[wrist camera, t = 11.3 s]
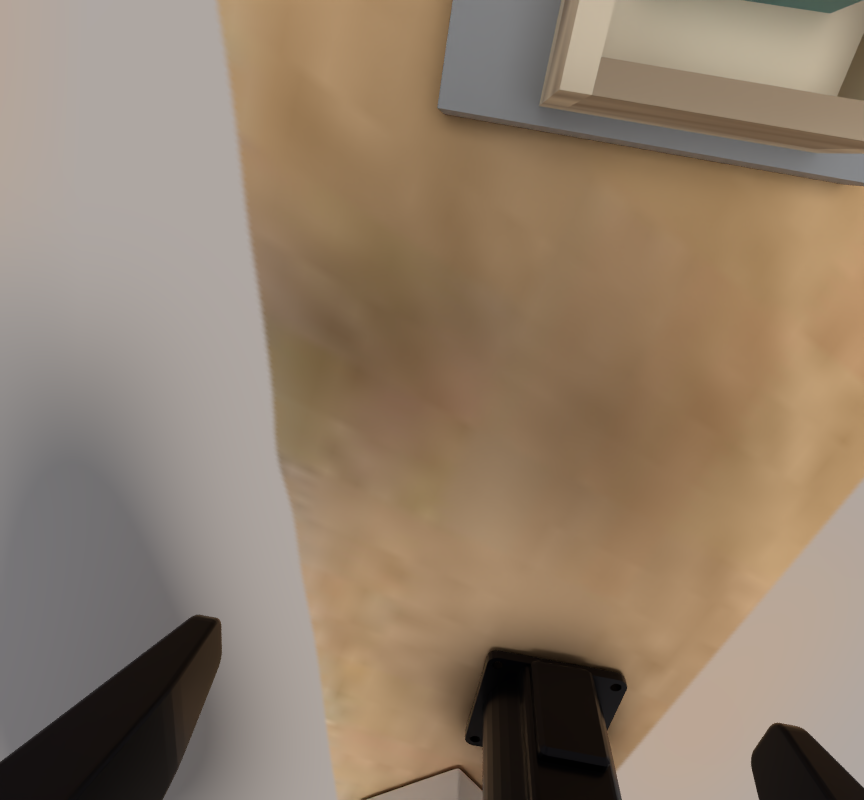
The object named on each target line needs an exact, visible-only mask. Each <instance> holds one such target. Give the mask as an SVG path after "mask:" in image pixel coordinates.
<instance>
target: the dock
mask: <svg viewBox="0 0 864 800" xmlns="http://www.w3.org/2000/svg"><path fill="white" fill-rule="evenodd" d="M560 4H561V0H453V3H452V10H451V17H450V24H449V30H448V37H447V44H446V51H445V58H444V65H443V72H442V79H441V86H440V93H439V100H438V107H437V108H438V109H439V110H440V111H441V112H442V113H443V114H447V115H453V116H459V117H464V118H470V119H476V120H481V121H487V122H493V123H498V124H504V125H510V126H515V127H521V128H527V129H532V130H538V131H544V132H549V133H555V134H561V135H566V136H572V137H578V138H584V139H589V140H595V141H601V142H606V143H612V144H618V145H623V146H629V147H635V148H640V149H646V150H652V151H657V152H663V153H669V154H674V155H680V156H686V157H691V158H697V159H703V160H709V161H714V162H720V163H726V164H731V165H737V166H743V167H748V168H754V169H760V170H765V171H771V172H777V173H782V174H788V175H794V176H799V177H805V178H811V179H816V180H822V181H828V182H834V183H839V184H845V185H856V186H864V154H844V153H811V152H805V151H800V150H794V149H788V148H782V147H776V146H770V145H764V144H758V143H753V142H747V141H741V140H735V139H729V138H723V137H717V136H711V135H705V134H700V133H694V132H688V131H682V130H676V129H670V128H664V127H658V126H653V125H647V124H641V123H635V122H629V121H623V120H617V119H611V118H606V117H600V116H594V115H588V114H582V113H576V112H570V111H564V110H558V109H553V108H547V107H541V106H539V103H540V99H541V94H542V89H543V84H544V80H545V75H546V70H547V66H548V61H549V56H550V51H551V47H552V42H553V37H554V32H555V28H556V23H557V18H558V14H559V9H560Z"/></svg>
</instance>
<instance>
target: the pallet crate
mask: <svg viewBox="0 0 864 800" xmlns="http://www.w3.org/2000/svg"><path fill="white" fill-rule="evenodd" d="M539 106H541V107H547V108H553V109H558V110H564V111H570V112H576V113H582V114H588V115H594V116H600V117H606V118H611V119H617V120H623V121H629V122H635V123H641V124H647V125H653V126H658V127H664V128H670V129H676V130H682V131H688V132H694V133H700V134H705V135H711V136H717V137H723V138H729V139H735V140H741V141H747V142H753V143H758V144H764V145H770V146H776V147H782V148H788V149H794V150H800V151H805V152H811V153H844V154H864V0H863V1H860V2H858V3H855V4H853V5H850V6H848V7H845V8H843V9H840V10H838V11H835V12H833V13H823V12H817V11H810V10H803V9H797V8H790V7H784V6H777V5H771V4H764V3H757V2H751V1H744V0H561V4H560V9H559V14H558V18H557V23H556V28H555V32H554V37H553V42H552V47H551V51H550V56H549V61H548V66H547V70H546V75H545V80H544V84H543V89H542V94H541V99H540V103H539Z"/></svg>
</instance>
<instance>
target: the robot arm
mask: <svg viewBox="0 0 864 800" xmlns="http://www.w3.org/2000/svg"><path fill="white" fill-rule="evenodd" d="M221 638H222V637H221V622H220V620H219V619H218V618H214V617H209V616H203V615H195V616H192V617H191V618H189V619H188V620H186V621H185V622H184V623H182V624H181V625H180V626H179V627H177V628H176V629H175V630H173V631H172V632H171V633H169V634H168V635H167V636H165V637H164V638H163V639H161V640H160V641H159V642H157V643H156V644H155V645H153V646H152V647H151V648H150V649H148V650H147V651H146V652H144V653H143V654H142V655H140V656H139V657H138V658H136V659H135V660H134V661H133V662H131V663H130V664H129V665H127V666H126V667H125V668H123V669H122V670H121V671H119V672H118V673H117V674H115V675H114V676H113V677H111V678H110V679H109V680H108V681H106V682H105V683H104V684H102V685H101V686H100V687H98V688H97V689H96V690H94V691H93V692H92V693H90V694H89V695H88V696H86V697H85V698H84V699H83V700H81V701H80V702H79V703H77V704H76V705H75V706H74V707H72V708H71V709H70V710H68V711H67V712H65V713H64V714H63V715H61V716H60V717H59V718H57V719H56V720H55V721H54V722H52V723H51V724H50V725H48V726H47V727H46V728H44V729H43V730H42V731H40V732H39V733H38V734H36V735H35V736H34V737H32V738H31V739H30V740H29V741H27V742H26V743H25V744H23V745H22V746H21V747H19V748H18V749H17V750H15V751H14V752H13V753H12V754H10V755H9V756H8V757H6V758H5V759H4V760H2V761H1V762H0V800H163V798H164V796H165V794H166V792H167V790H168V788H169V786H170V784H171V782H172V780H173V778H174V775H175V774H176V772H177V770H178V767H179V765H180V763H181V760H182V758H183V755H184V753H185V751H186V748H187V745H188V743H189V740H190V738H191V736H192V733H193V730H194V728H195V725H196V723H197V720H198V718H199V715H200V713H201V710H202V708H203V705H204V703H205V700H206V697H207V695H208V693H209V690H210V688H211V685H212V683H213V680H214V678H215V675H216V673H217V669H218V667H219V664H220V660H221V655H222V642H221V641H222V639H221ZM626 690H627V684H626V681H625V678H624V676H623V675H622V674H620V673H617V672H611V671H606V670H601V669H595V668H590V667H585V666H579V665H574V664H569V663H563V662H558V661H553V660H547V659H542V658H537V657H531V656H526V655H521V654H515V653H510V652H504V651H497V650H496V651H492V652H490V653H489V654H488V655H487V658H486V662H485V665H484V668H483V672H482V675H481V679H480V682H479V685H478V689H477V692H476V696H475V699H474V702H473V706H472V709H471V713H470V716H469V719H468V723H467V726H466V729H465V740H466V742H467V743H469V744H471V745H475V746H480V747H483V800H622V799H621V794H620V789H619V785H618V780H617V775H616V771H615V766H614V761H613V757H612V752H611V747H610V743H609V738H608V733H607V730H608V728H609V725H610V723H611V721H612V719H613V717H614V715H615V713H616V711H617V709H618V707H619V705H620V702H621V700H622V698H623V696H624V694H625V692H626ZM751 766H752V772H753V776H754V780H755V784H756V789H757V793H758V797H759V800H864V788H863V787H862V786H861V785H860V784H859V783H858V782H857V781H856V780H855V779H854V778H853V777H852V776H851V775H850V774H849V773H848V772H847V771H846V770H845V769H844V768H843V767H842V766H841V765H840V764H839V763H838V762H837V761H836V760H835V759H834V758H833V757H832V756H831V755H830V754H829V753H828V752H827V751H826V750H825V749H824V748H823V747H822V746H821V745H820V744H819V743H818V742H817V741H816V740H815V739H814V738H813V737H812V736H811V735H810V734H809V733H808V732H807V731H805V730H804V729H802V728H800V727H797V726H793V725H787V724H782V723H774V724H772V725H771V726H770V727H769V729H768V730H767V732H766V733H765V735H764V736H763V737H762V739H761V740H760V742H759V743H758V745H757V746H756V748H755V749H754V751H753V753H752V757H751Z"/></svg>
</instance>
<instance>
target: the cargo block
mask: <svg viewBox="0 0 864 800" xmlns="http://www.w3.org/2000/svg"><path fill="white" fill-rule="evenodd" d="M744 1H751V2H757V3H764V4H771V5H777V6H784V7H790V8H797V9H803V10H810V11H817V12H823V13H833V12H835V11H838V10H840V9H843V8H845V7H848V6H850V5H853V4H855V3H858V2H860V1H863V0H744Z"/></svg>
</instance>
